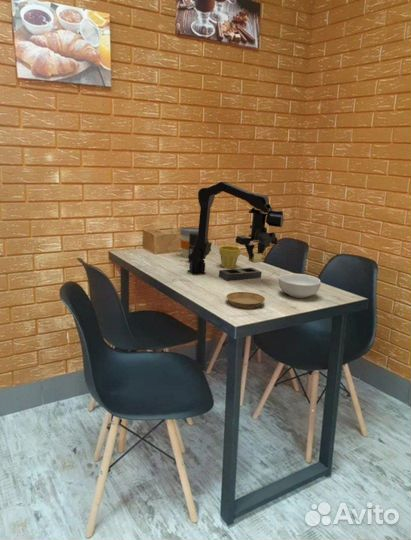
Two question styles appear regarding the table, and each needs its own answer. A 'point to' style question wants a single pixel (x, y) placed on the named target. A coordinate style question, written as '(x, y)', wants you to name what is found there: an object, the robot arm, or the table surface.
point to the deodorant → (192, 242)
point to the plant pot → (229, 256)
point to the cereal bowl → (299, 285)
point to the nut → (256, 257)
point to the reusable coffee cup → (186, 239)
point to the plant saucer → (245, 299)
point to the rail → (239, 274)
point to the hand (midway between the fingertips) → (254, 259)
